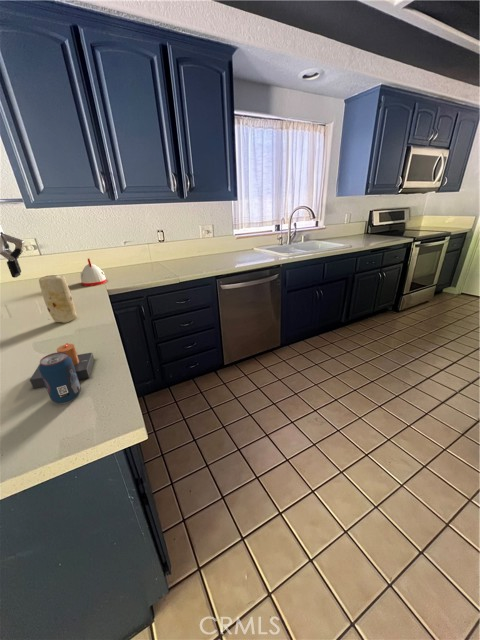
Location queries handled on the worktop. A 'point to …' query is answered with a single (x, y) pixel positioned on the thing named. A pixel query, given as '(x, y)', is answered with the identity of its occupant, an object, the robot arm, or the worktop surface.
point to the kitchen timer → (92, 275)
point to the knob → (69, 352)
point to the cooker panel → (81, 368)
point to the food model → (57, 298)
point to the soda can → (60, 377)
